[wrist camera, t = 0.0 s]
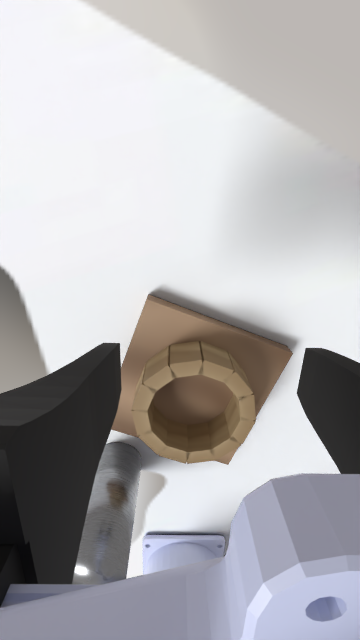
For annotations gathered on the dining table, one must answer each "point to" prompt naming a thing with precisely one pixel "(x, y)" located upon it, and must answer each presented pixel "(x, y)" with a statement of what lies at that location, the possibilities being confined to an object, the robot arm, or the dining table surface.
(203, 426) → the socket block
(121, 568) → the steel pin
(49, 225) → the dining table surface
